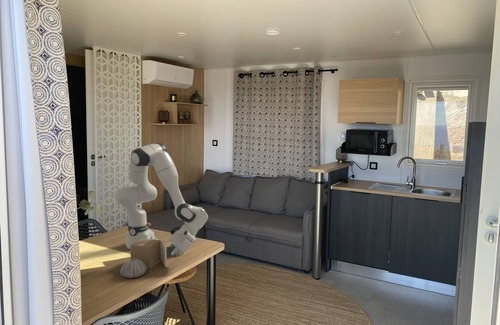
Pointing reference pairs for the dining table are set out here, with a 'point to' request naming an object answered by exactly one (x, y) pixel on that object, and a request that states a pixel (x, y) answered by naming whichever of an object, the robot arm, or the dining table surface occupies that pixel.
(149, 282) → the dining table surface
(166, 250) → the flap
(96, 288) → the dining table surface
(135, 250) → the carton
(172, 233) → the coffee cup
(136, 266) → the sea urchin shell
